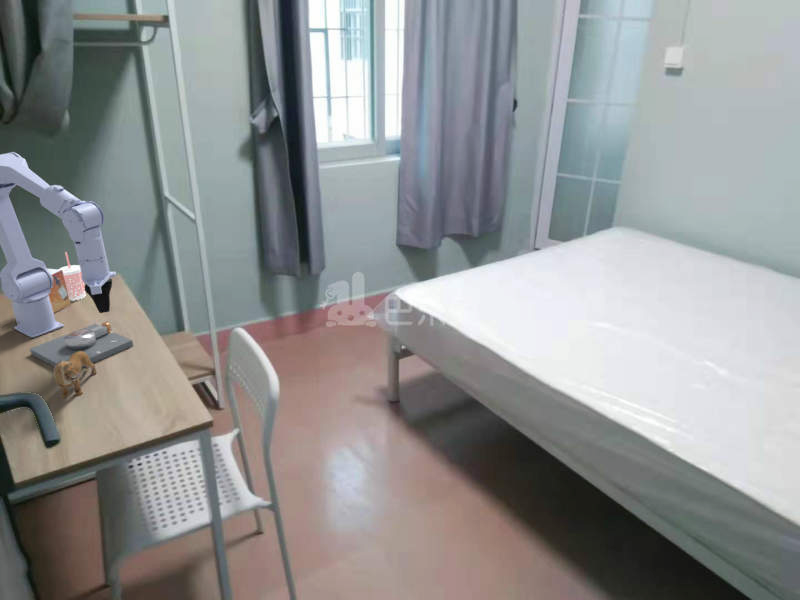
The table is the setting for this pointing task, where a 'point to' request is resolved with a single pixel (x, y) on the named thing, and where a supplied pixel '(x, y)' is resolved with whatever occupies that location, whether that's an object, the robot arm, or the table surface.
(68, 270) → the beverage cup
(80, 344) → the dial
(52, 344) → the dial board
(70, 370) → the lion figurine
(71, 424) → the table surface
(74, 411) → the table surface
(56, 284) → the small box
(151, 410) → the table surface
